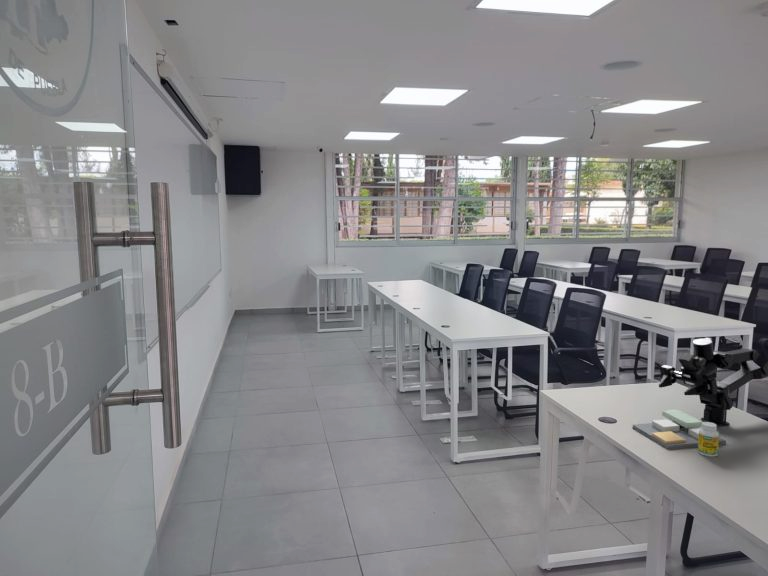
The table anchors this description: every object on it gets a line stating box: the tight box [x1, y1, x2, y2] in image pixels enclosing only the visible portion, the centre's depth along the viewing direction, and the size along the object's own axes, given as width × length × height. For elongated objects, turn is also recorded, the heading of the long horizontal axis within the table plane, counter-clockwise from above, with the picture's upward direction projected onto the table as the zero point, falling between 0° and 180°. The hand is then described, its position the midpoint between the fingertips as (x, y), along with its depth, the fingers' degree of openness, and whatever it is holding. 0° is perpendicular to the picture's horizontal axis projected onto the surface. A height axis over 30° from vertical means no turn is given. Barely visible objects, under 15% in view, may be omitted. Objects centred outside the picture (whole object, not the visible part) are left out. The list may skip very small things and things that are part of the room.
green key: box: [661, 409, 703, 428], centre depth 183 cm, size 6×12×3 cm, turn 9°
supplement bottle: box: [697, 421, 720, 458], centre depth 163 cm, size 5×5×10 cm
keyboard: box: [632, 418, 727, 450], centre depth 178 cm, size 21×18×3 cm
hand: (671, 389), depth 176 cm, fingers open, 9 cm apart
